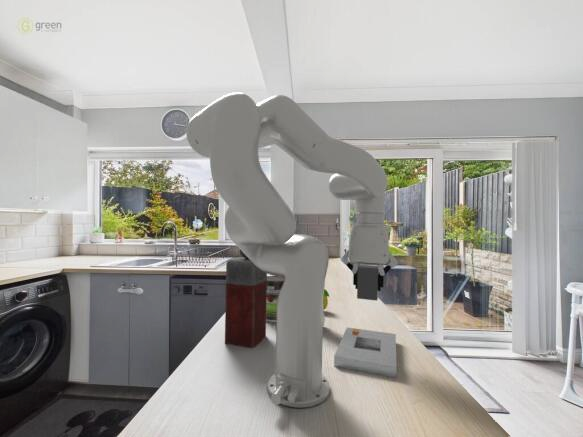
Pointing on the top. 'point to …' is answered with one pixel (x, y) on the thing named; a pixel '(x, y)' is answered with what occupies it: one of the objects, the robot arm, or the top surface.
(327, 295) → the lemon
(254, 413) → the top surface
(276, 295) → the coffee can
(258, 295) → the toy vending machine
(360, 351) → the socket plate
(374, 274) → the plug
